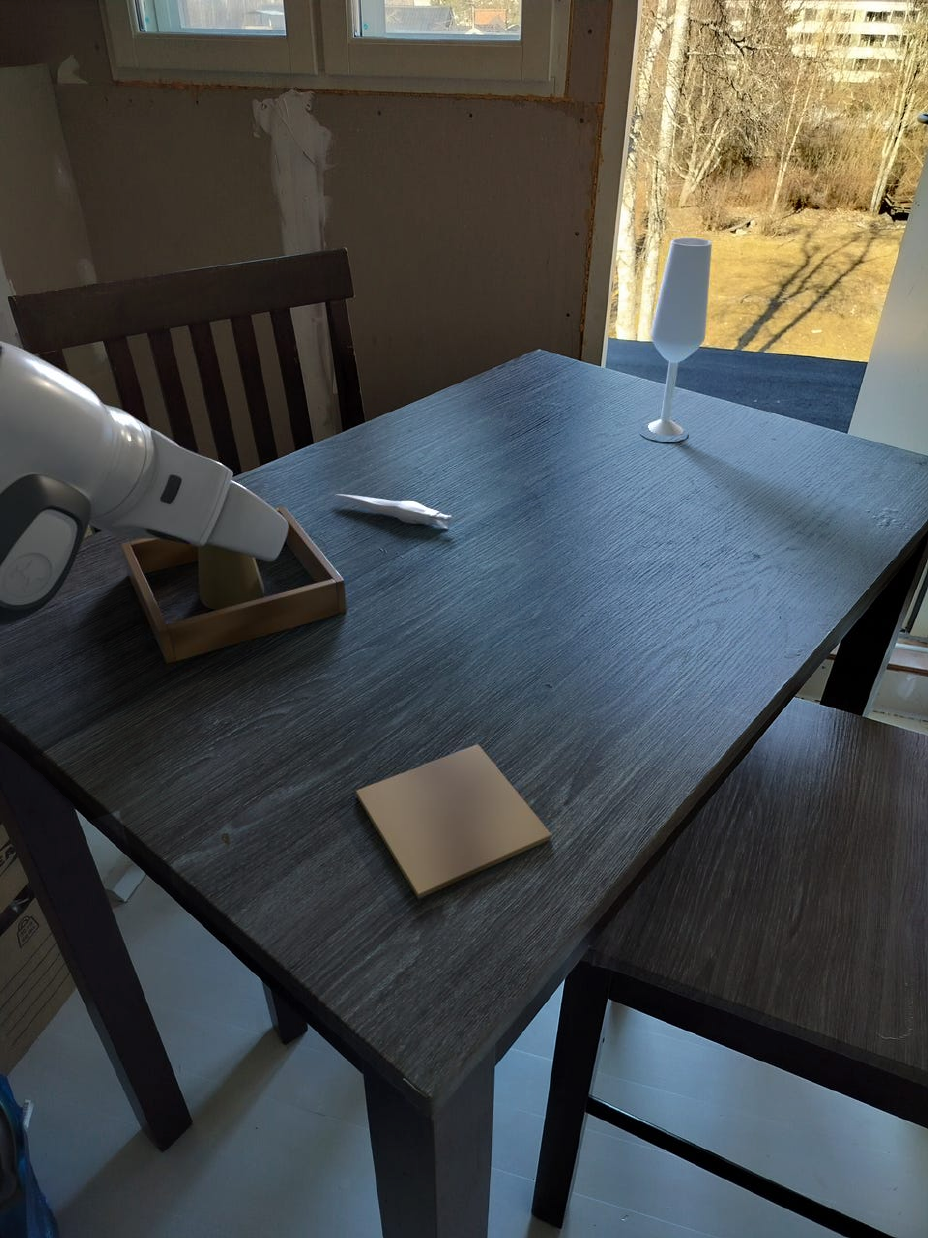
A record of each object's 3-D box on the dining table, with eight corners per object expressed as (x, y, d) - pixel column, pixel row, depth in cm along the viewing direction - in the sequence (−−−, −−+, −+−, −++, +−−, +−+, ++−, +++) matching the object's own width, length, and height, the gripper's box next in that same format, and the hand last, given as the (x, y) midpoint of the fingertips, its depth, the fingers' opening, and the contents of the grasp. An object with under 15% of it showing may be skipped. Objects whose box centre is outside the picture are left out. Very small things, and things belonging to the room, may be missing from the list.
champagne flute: (634, 439, 113) (659, 245, 99) (641, 420, 118) (666, 234, 104) (686, 445, 111) (718, 249, 97) (691, 426, 116) (722, 237, 103)
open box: (166, 664, 73) (158, 631, 71) (128, 573, 85) (120, 543, 83) (347, 612, 79) (344, 580, 77) (287, 534, 91) (284, 505, 89)
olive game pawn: (186, 602, 80) (164, 496, 74) (224, 571, 85) (206, 469, 79) (240, 616, 79) (222, 509, 72) (276, 583, 83) (262, 480, 77)
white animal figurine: (457, 524, 93) (457, 509, 92) (447, 535, 91) (447, 519, 90) (341, 497, 98) (340, 482, 97) (328, 506, 96) (327, 491, 95)
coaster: (418, 899, 53) (418, 894, 53) (355, 795, 60) (355, 790, 60) (551, 839, 57) (552, 834, 57) (478, 748, 64) (478, 743, 64)
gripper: (17, 486, 70) (132, 539, 82) (208, 547, 62) (303, 595, 75) (47, 417, 70) (157, 480, 83) (240, 468, 63) (328, 529, 75)
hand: (227, 535), depth 79 cm, fingers closed on olive game pawn, 4 cm apart
